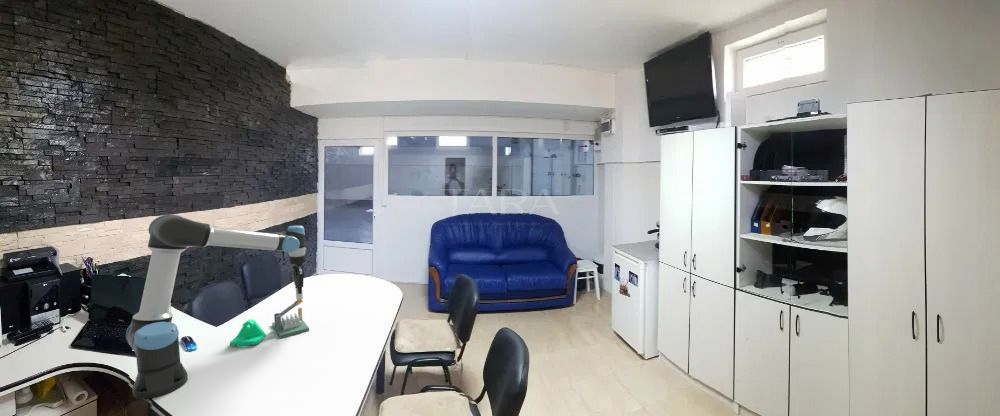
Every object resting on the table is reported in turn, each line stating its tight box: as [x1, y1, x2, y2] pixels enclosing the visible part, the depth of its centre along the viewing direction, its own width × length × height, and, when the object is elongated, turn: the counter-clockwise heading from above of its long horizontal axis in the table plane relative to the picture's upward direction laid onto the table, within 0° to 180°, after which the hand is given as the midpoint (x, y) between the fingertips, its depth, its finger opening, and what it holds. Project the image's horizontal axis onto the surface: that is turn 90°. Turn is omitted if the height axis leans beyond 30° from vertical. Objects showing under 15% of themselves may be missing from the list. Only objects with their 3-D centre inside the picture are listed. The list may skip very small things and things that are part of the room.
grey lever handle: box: [275, 299, 304, 317], centre depth 184 cm, size 4×14×2 cm
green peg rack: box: [271, 306, 310, 339], centre depth 185 cm, size 19×13×9 cm
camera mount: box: [229, 318, 266, 348], centre depth 168 cm, size 12×8×10 cm, turn 98°
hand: (299, 298), depth 187 cm, fingers closed
